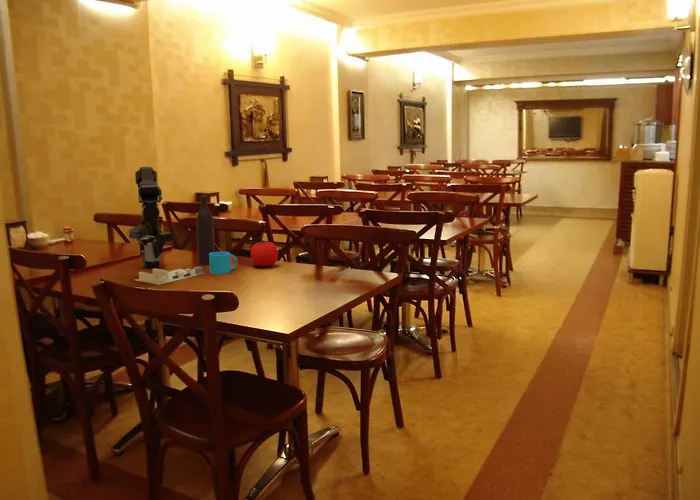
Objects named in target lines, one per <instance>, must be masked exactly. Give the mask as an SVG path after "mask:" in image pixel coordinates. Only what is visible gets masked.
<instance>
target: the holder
mask: <svg viewBox="0 0 700 500" xmlns="http://www.w3.org/2000/svg"><path fill="white" fill-rule="evenodd" d="M168 272H169V270H165V269H160V268H152V272H151V273H150V272H146V271H139V272H138V276H139V277H138V279H139V280H144V281H149V282H158V281H162V280H166V279H169V273H168ZM155 277H158V278H155Z"/></svg>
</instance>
